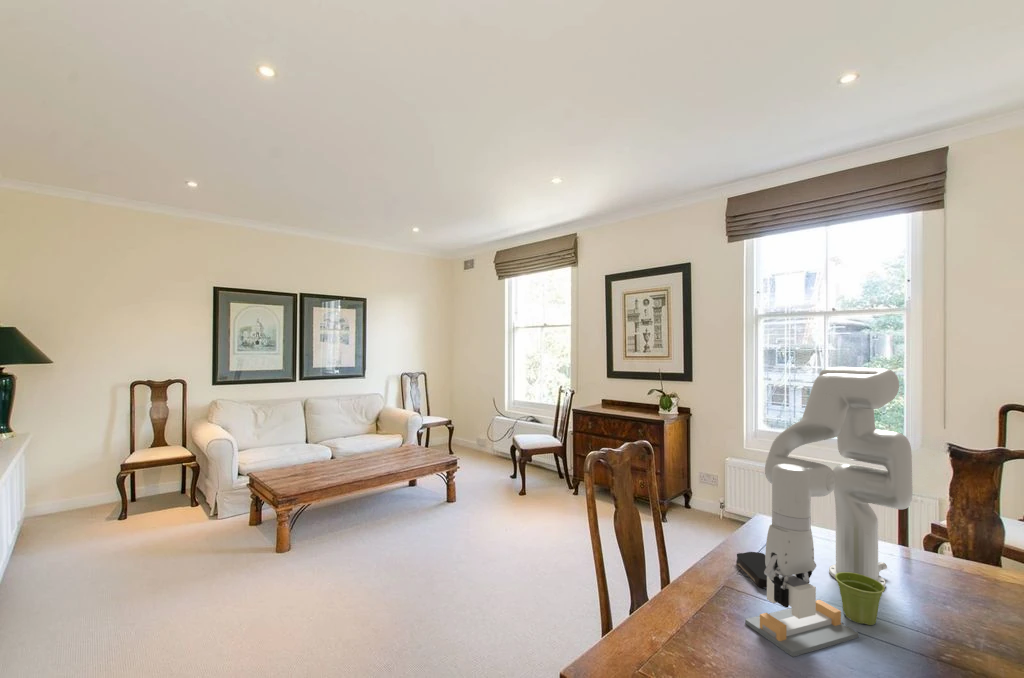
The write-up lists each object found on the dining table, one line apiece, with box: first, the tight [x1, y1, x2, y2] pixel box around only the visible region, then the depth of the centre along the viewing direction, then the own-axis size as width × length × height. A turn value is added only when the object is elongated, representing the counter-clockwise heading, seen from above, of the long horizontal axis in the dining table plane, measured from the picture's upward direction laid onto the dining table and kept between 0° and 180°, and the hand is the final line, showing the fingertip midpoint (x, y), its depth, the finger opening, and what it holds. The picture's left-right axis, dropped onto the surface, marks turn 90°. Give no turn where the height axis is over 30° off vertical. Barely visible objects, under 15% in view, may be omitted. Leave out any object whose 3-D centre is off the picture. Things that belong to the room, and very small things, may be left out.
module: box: [766, 574, 817, 619], centre depth 102 cm, size 5×8×6 cm, turn 20°
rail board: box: [744, 599, 860, 658], centre depth 103 cm, size 20×12×4 cm, turn 110°
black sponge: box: [736, 551, 767, 589], centre depth 128 cm, size 16×8×4 cm, turn 177°
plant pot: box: [834, 572, 886, 626], centre depth 108 cm, size 9×9×9 cm
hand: (790, 601), depth 102 cm, fingers closed on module, 5 cm apart
